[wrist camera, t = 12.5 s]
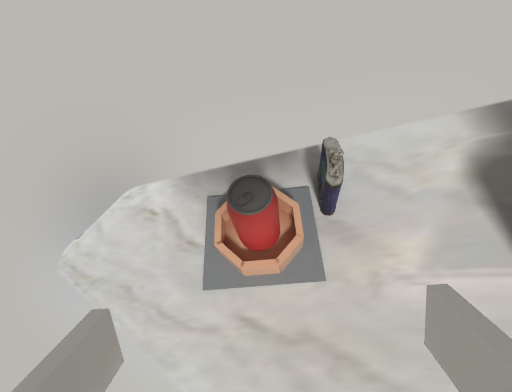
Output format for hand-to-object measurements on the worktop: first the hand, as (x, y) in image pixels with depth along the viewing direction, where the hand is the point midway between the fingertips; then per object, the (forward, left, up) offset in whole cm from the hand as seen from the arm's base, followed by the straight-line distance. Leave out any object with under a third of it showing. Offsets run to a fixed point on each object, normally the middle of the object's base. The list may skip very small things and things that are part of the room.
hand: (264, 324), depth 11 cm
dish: (+2, -16, -27) cm, 31 cm away
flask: (-10, -22, -28) cm, 37 cm away
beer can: (+2, -16, -27) cm, 31 cm away
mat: (+2, -16, -28) cm, 32 cm away
